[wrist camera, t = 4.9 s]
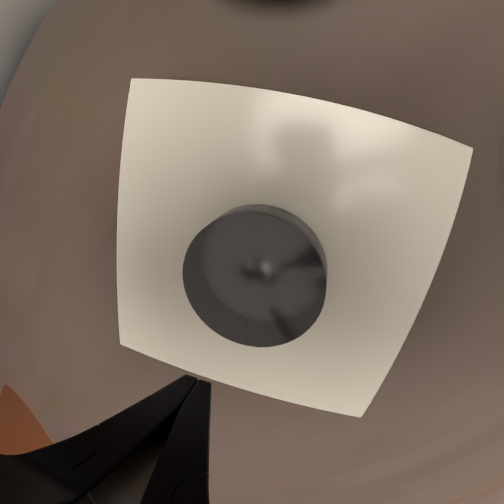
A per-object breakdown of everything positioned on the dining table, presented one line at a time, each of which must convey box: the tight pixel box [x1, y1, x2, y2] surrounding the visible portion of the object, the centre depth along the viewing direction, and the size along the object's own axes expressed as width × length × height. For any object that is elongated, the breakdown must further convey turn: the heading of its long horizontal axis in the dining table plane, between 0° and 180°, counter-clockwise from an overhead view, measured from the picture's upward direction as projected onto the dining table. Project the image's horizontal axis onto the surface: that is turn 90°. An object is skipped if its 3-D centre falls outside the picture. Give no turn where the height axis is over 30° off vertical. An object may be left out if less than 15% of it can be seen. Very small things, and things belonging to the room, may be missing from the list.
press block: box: [117, 79, 473, 417], centre depth 19 cm, size 18×18×4 cm
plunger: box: [182, 204, 327, 347], centre depth 18 cm, size 7×7×6 cm
